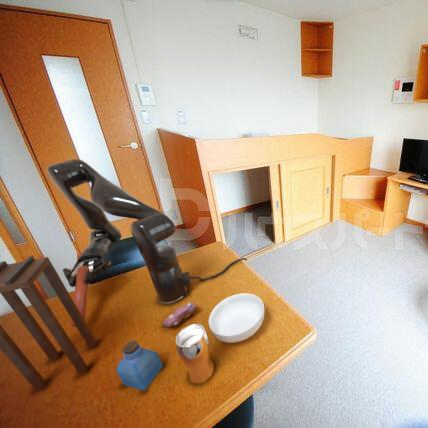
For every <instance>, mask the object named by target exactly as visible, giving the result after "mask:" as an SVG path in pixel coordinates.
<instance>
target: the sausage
mask: <svg viewBox="0 0 428 428" xmlns="http://www.w3.org/2000/svg"><path fill="white" fill-rule="evenodd" d="M88 271H89V268H88V267H87V266H81V267H79V268H78V269H77V274H76V283H75V287H74V293H73V302H74V303H75V305H76V307H77V308H78V310H79V312H80V314H81V315H82V317H83V319H84V321H85V322H86V312H87V311H86V309H87V298H88V297H87V296H88V285H89V283H88V284H86V283H85V281H84V278H85V276H86V274H87V273H89V272H88ZM70 325H71V327H73V328H77V327H76V325H75V324H74V322H73V320H72V319H71V320H70Z"/></svg>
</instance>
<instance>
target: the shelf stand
mask: <svg viewBox="0 0 428 428" xmlns="http://www.w3.org/2000/svg"><path fill="white" fill-rule="evenodd" d="M42 273H43V274H44V276H45V278H46V279H47V281H48V283H49V285H50V286H51V288H52V289H53V291H54V292H55V294H56V296H57V297H58V299H59V301H60V303H61V304H62V306H63V307H64V309H65V311H66V312H67V314H68V315H69V317H70V319H71V320H73V322H74V324H75V325H76V327H75V328H76V329H77V330H78V332H79V333H80V336H81V337H82V338H83V340H84V342H85V344H86V345H87V347H88V348H89V349H92V348H95V347H97V344H98V341H97V340H96V338H95V335H94V334H93V333H92V331H91V329H90V328H89V326H88V324H87V322H86V320H85V321H84V319H83V317H82V315H81V314H80V312H79V310H78V308H77V307H76V305H75V303H74V302H73V301H74V299H73V298H72V296H71V295H70V293H69V292H68V291H69V290H68V289H67V287H66V286H65V284H64V282H63V280H62V279H61V277H60V275H59V274H58V272H57V270H56V269H55V267H54V265H53V264H52V262H51V260H50V258H49V256H45V257H44V256H43V257H39V258H35V257H34V256H33V255H30V256H27V258H26V259H24V260H23V261H18V262H13V263H7V261H6V260H2V261H0V294H1V296H2V297H3V299H4V300H5V301H6V303H7V304H8V305H9V307H10V308H11V310H12V311H13V312H14V314H15V315H16V317H18V319H19V320H20V321H21V323H22V324H23V326H24V327H25V329H27V331H28V333H29V334H30V335H31V337H32V338H33V339H34V340H35V342H36V343H37V344H38V346H39V347H40V348H41V350H42V351H43V353H44V354H45V355H46V356H47V358H48V360H49V361H50V362H53V361H56V360H59V358H60V356H61V354H60V352H59V351H58V349H57V348H56V347H55V346H54V344H53V342H52V341H51V340H50V338H49V337H48V335H47V334H46V332H45V331H44V330H43V328H42V327H41V326H40V324H39V323H38V321H37V320H36V318H35V317H34V316H33V313H31V311H30V309H29V308H28V307H27V305H26V304H25V302H24V301H23V300H22V298H21V296H19V294H18V293H17V292H16V291H17V290H21V292H22V293H23V294H24V296H25V298H26V299H27V301H28V302H29V303H30V305H31V307H32V308H33V309H34V311H35V312H36V313H37V315H38V316H39V318H40V320H41V321H42V323H43V324H44V325H45V326H46V328H47V330H48V331H49V332H50V334H51V335H52V337H53V338H54V340H55V342H56V343H57V344H58V345H59V347H60V348H61V350H62V351H63V353H64V354H65V356H66V357H67V358H68V360H69V362H70V363H71V364H72V366H73V367H74V369H75V370H76V373H78V375H79V376H80V375H84V374H87V372H88V371H89V366H88V365H87V363H86V361H85V360H84V358H83V356H81V354H80V353H79V351H78V349H77V347H76V346H75V345H74V343H73V341H72V340H71V338H70V337H69V335H68V334H67V333H66V331H65V328H64V327H63V326H62V324H61V323H60V321H59V320H58V319H57V317H56V315H55V314H54V312H53V311H52V309H51V307H50V306H49V304H48V303H47V301H46V299H45V298H44V296H43V295H42V294H41V292H40V290H39V289H38V287H37V285H36V284H35V281H36V280H37V279H38V277H39V276H40V275H41V274H42ZM0 350H1V352H2V353H3V354H4V355H5V356H6V357H7V358H8V360H9V361H10V362H11V363H12V364H13V366H14V368H16V369H17V371H19V373H20V374H21V375H22V376H23V377H24V379H25V380H26V381H27V382H28V383H29V384H30V385H31V387H32V388H33V389H34V390H35V391H39V390H42V389H44V388H45V386H46V384H47V380H45V378H44V377H43V376H42V375H41V374H40V372H39V370H37V368H36V367H35V366H34V365H33V363H32V362H31V361H30V360H29V358H28V357H27V356H26V355H25V354H24V352H23V351H22V350H21V349H20V347H19V346H18V345H17V343H15V340H13V338H11V336H10V335H9V334H8V332H7V331H6V330H5V328H4V327H3V326H2V325H1V324H0Z"/></svg>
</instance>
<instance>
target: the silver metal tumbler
mask: <svg viewBox="0 0 428 428" xmlns="http://www.w3.org/2000/svg"><path fill="white" fill-rule="evenodd" d="M205 329H206V328H205V327H204V325H202V324H200V323H192V324H189V325H187V326H184V327H183V328H182V329H181V330H180V331H179V332H178V333H177V334H176V336H175V344H176V345H175V346H176V349H177V353H178V356H179V359H180V360H181V362H182V363H183V364H184V366H185V367H186V368H187V369H188V371H189V373H188V374H189V376H188V377H189V380H190V381H191V382H192V383H193V384H202V383H205V382H206V381H208V380H209V378H211V376H212V375H213V373H214V370H215V366H214V363H213V361H212V360H211V352H210V350H211V349H210V339H209V337H208V334H207V332H206V330H205Z"/></svg>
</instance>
